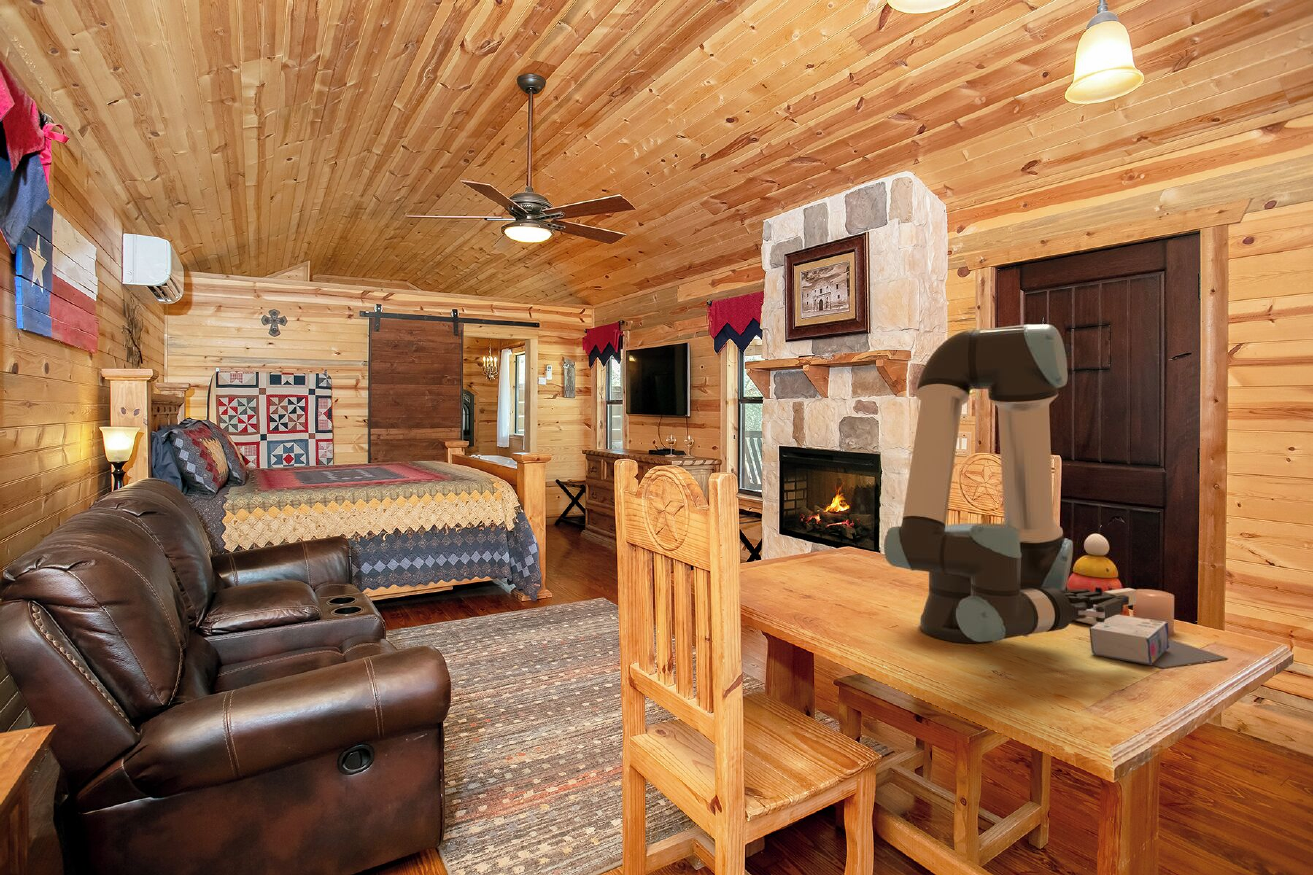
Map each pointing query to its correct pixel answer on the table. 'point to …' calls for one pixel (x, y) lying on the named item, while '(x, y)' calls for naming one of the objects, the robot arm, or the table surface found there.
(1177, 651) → the mat
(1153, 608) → the pink pillar candle
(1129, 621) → the ink cartridge box
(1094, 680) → the table surface
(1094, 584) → the stacking toy
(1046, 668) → the table surface
